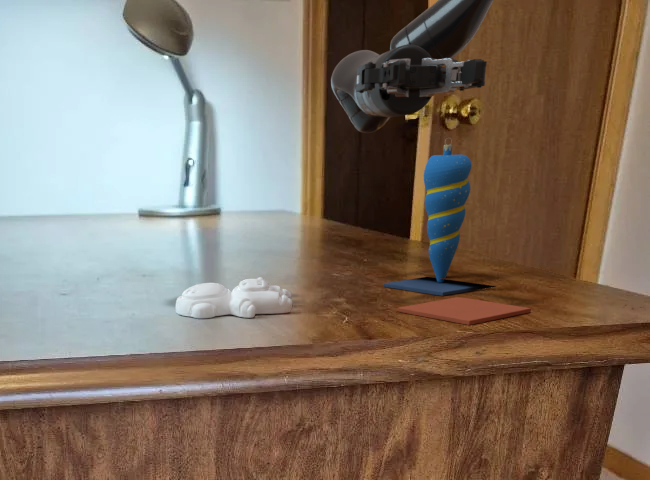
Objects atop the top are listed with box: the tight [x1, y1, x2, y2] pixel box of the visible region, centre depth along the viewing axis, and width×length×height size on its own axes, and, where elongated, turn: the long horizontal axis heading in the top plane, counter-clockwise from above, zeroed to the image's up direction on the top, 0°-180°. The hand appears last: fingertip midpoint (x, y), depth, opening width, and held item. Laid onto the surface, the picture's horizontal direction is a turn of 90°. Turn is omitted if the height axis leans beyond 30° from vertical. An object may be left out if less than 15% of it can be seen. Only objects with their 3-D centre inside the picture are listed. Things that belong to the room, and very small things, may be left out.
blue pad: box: [383, 276, 497, 297], centre depth 91 cm, size 9×9×1 cm
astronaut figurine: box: [175, 276, 294, 319], centre depth 80 cm, size 9×12×3 cm
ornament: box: [423, 137, 472, 283], centre depth 88 cm, size 5×5×15 cm
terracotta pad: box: [397, 296, 532, 326], centre depth 77 cm, size 9×9×1 cm
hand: (440, 70), depth 86 cm, fingers open, 8 cm apart
